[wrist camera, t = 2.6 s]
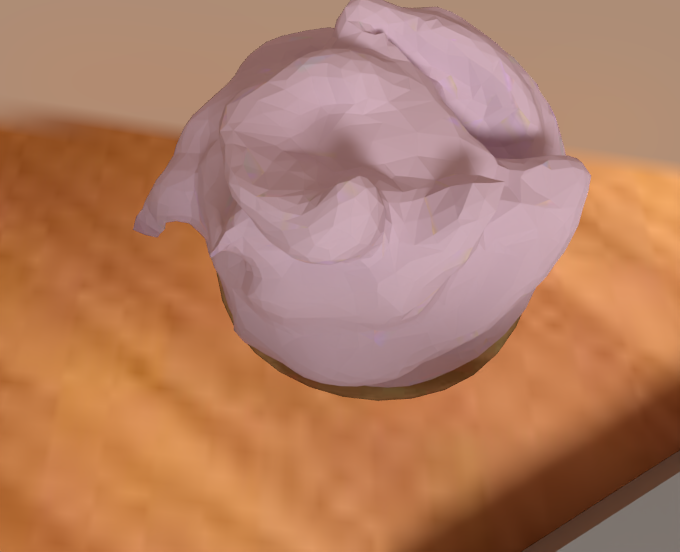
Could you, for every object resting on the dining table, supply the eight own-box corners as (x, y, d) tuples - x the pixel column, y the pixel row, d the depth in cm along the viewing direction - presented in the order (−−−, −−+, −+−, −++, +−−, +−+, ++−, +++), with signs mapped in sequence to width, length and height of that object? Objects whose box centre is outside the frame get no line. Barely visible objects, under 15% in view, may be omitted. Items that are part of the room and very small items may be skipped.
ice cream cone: (250, 397, 21) (-29, 290, 6) (291, 225, 22) (137, -172, 8) (448, 438, 20) (631, 419, 6) (476, 257, 22) (675, -114, 7)
